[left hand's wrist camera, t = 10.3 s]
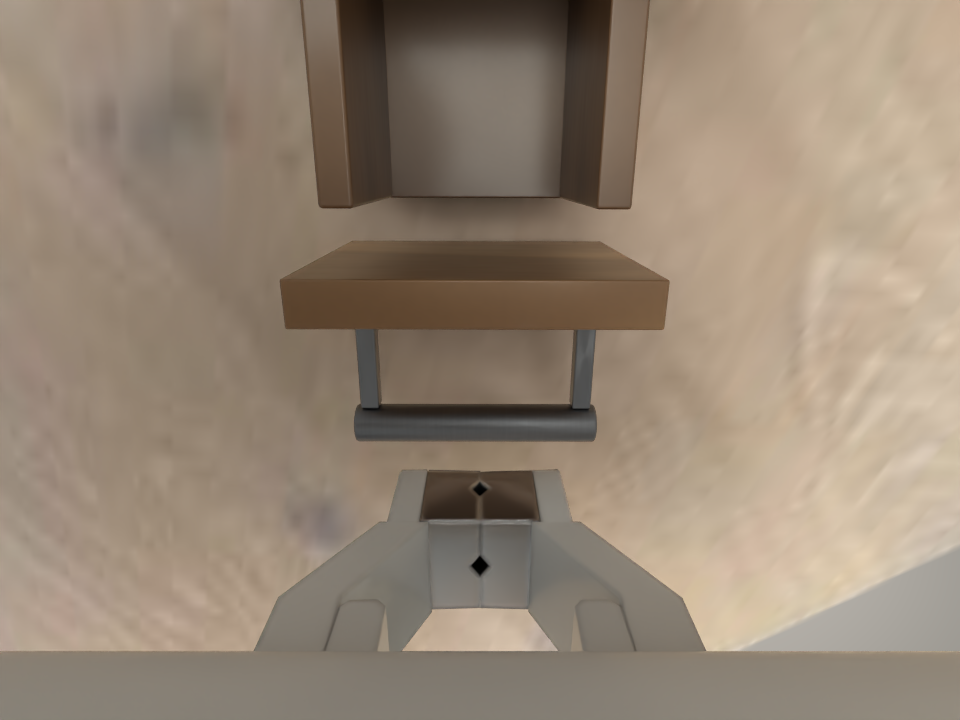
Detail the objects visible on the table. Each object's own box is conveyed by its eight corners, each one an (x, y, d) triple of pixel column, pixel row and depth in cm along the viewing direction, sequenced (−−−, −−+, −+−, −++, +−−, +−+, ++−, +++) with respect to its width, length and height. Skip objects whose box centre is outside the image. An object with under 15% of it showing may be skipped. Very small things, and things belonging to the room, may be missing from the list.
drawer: (589, 400, 22) (643, 511, 15) (362, 399, 22) (305, 511, 14) (649, -421, 14) (824, -1027, 7) (303, -424, 14) (123, -1037, 7)
